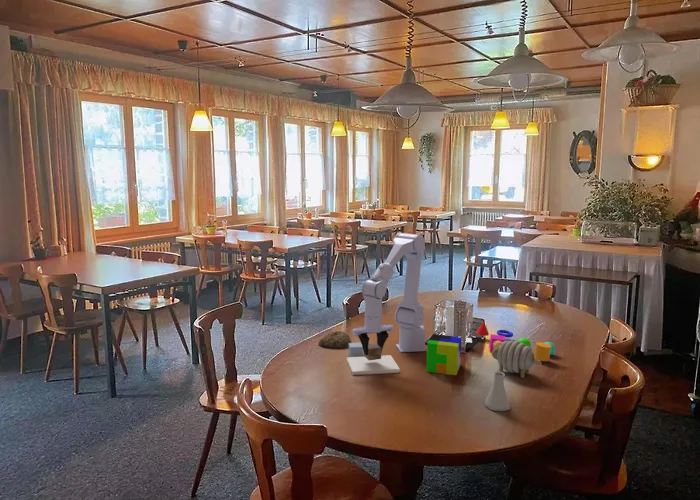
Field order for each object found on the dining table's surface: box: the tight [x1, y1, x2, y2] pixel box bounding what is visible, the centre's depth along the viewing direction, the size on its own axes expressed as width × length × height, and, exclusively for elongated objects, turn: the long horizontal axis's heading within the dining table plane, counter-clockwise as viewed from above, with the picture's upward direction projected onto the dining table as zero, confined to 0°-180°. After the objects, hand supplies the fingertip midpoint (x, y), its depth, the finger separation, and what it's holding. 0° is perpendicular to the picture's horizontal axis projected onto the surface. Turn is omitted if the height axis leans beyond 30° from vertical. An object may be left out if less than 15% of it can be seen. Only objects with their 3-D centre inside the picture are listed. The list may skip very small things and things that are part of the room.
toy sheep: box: [491, 340, 543, 379], centre depth 176 cm, size 11×17×11 cm, turn 55°
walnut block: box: [363, 343, 382, 360], centre depth 181 cm, size 4×4×4 cm
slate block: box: [347, 342, 364, 357], centre depth 192 cm, size 4×4×4 cm
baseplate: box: [346, 354, 401, 376], centre depth 182 cm, size 16×13×1 cm
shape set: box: [465, 321, 556, 362], centre depth 199 cm, size 29×35×7 cm
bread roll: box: [318, 330, 352, 349], centre depth 205 cm, size 13×12×5 cm
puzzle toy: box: [425, 333, 462, 376], centre depth 181 cm, size 10×10×10 cm
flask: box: [484, 371, 511, 412], centre depth 152 cm, size 7×7×10 cm
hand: (372, 353), depth 181 cm, fingers closed on walnut block, 4 cm apart
